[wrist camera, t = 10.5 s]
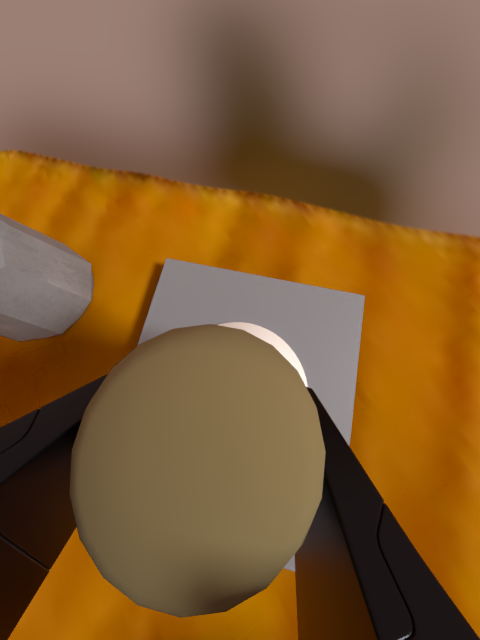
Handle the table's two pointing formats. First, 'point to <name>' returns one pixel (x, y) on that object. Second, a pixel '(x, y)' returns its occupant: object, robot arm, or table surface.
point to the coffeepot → (39, 283)
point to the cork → (197, 470)
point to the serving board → (271, 325)
